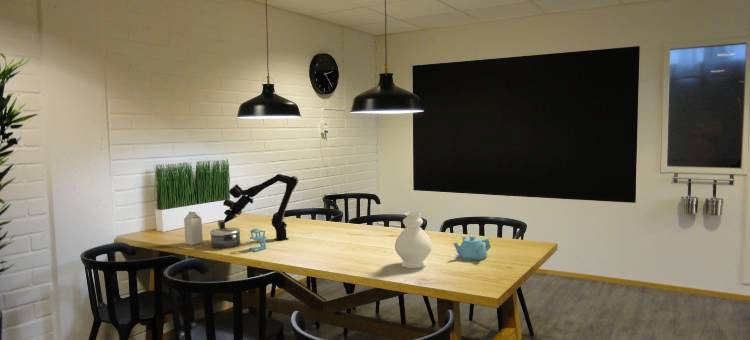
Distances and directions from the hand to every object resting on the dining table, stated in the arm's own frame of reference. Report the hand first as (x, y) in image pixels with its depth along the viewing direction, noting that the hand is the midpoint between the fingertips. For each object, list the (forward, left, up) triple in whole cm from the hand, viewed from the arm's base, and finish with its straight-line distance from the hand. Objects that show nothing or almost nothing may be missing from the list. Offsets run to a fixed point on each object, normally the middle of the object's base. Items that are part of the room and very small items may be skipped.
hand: (224, 222), depth 318 cm
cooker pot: (-10, +5, -11) cm, 16 cm away
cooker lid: (-9, +5, -4) cm, 11 cm away
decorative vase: (-122, -34, -11) cm, 127 cm away
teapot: (-135, -63, -11) cm, 150 cm away
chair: (-36, -1, -11) cm, 38 cm away
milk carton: (+8, +16, -11) cm, 21 cm away
